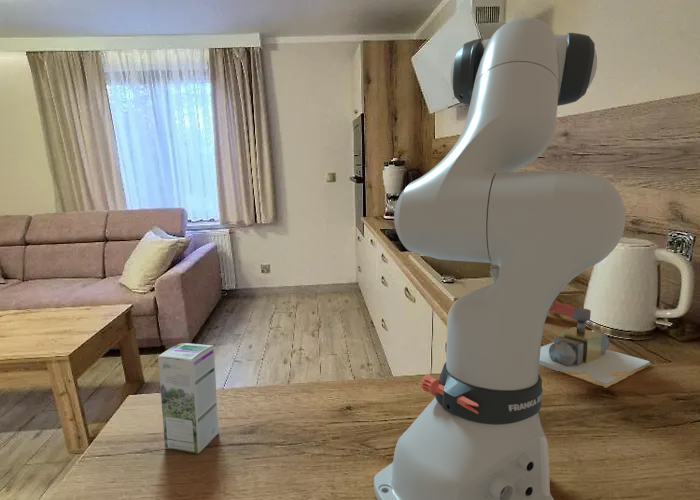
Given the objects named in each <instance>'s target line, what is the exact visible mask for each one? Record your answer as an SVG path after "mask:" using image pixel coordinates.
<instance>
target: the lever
mask: <svg viewBox="0 0 700 500" xmlns="http://www.w3.org/2000/svg"><path fill="white" fill-rule="evenodd" d="M552 304H553V307H552V308H550V309H549V312H554V313H558V314H561V315H564V316H567V317H570V318H572V319H574V320H576V321H577V320H580V321H586V322H588V321H591V313H592V311H591V310H590V309H588V308H583V307H576V306H573V305H569V304H565V303H562V302H559V301H556V300H554V302H553V303H552Z"/></svg>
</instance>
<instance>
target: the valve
mask: <svg viewBox="0 0 700 500" xmlns="http://www.w3.org/2000/svg"><path fill="white" fill-rule="evenodd" d="M586 322H587V321H580V320H576V326H573V327H570V328H567V329H563V330H561V331H559V336H556V337H554V339H553V340H554V341H553V343H554V344H552V345H551V346H550V348H549V356H550V358H551V360H552V361H553V362H556V363H559V364H562V365H565V366H570V365H576V366H578V365H581V364H582V362H583V363H589V362H591V361H593V360H596V359H598V358H600V356H602V355H604V354H605V351H606V350H607V349H608V350H609V346H610V339H609V337H608V335H607V334H606V333H605V332H603V331H602V330H599V329H591V330H589V329H586V324H587V323H586Z"/></svg>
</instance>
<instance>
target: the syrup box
mask: <svg viewBox="0 0 700 500" xmlns="http://www.w3.org/2000/svg"><path fill="white" fill-rule="evenodd" d="M215 357H216V356H215V347H214V345H213V344H212V345H211V344H200V343H187V342H181V343H178V344H176V345H174V346H171V347H170V348H168V349H167V350H165V351H164V352H162V353H161V354H159V355H157V361H158V362H157V363H158V372H159V385H160V386H159V387H160V388H159V389H160V399H161V410H162V423H163V435H164V436H163V439H164V448H165V450H170V451H171V450H172V451H178V452H183V453H184V452H186V453H190V454H197V455H198V454H199V453H201V452H202V451H203V450H204V449H205V448H206V447H207V446H208V445H209V444H210V443H211V442H212V441H213V440H214V438H216V437H217V435H218V434H219V433H220V432H219V431H220V429H219V419H218V418H219V416H218V400H217V382H216V381H217V380H216V379H217V378H216V362H215V361H216V359H215Z"/></svg>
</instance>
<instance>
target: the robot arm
mask: <svg viewBox="0 0 700 500" xmlns="http://www.w3.org/2000/svg"><path fill="white" fill-rule="evenodd" d="M597 66H598V57H597V52H596V49H595V42H594V40H593V39H592V38H591V37H590V36H589V35H587V34H584V33H576V32H567V34H559V33H558V34H556V33H554V31H553V29H552V28H551V27H550V26H549V24H547V23H546V22H545V21H542V20H541V19H538V18H534V17H529V16H528V17H527V16H524V17H519V18H515V19H512V20H510V21H507V22H506V23H505V24H502V25H501V26H500V27H498V28H497V30H495V32H494V33H493V34H492V35H491V37H490V38H487V39H482V38H477V39H473V40H470V41H467V42H464V44H462V45H461V46H460V48H459V49H458V50H457V51H456V54H455V57H454V60H453V62H452V65H451V68H450V85H451V88H452V89H451V90H452V92H453V96H454V98H456V100H457V101H458V102H459V103H460V104H463V105H467V106H469V107H468V111H467V114H466V119H465V121H464V125H463V129H462V132H461V133H460V135H459V137H458V139H457V140H456V142H455V144H454V145H453V147H452V148H451V149H450V151H449V152H448V153H447V154H446V155H445V156H444V157H443V158H442V159H441V160H440V161H439V162H438V163H437V164H436V165H434V167H433V168H432V169H430V170H429V171H427V172H426V173H425V174H423V175H422V176H420V177H419V178H417V179H415V180H413V181H411V182H410V183H408V184H407V186H405V188H404V189H403V190H402V191H401V193H400V194H399V197H398V198H397V201H396V204H395V207H394V214H393V221H394V228H395V232H396V234H397V236H398V239H399V241H400V243H401V244H402V245H403V247H405V249H406V250H407V251H410V252H411V253H412V252H413V253H415V254H419V255H423V256H426V257H429V258H432V259H433V258H434V259H437V260H442V261H457V262H470V263H472V262H473V263H484V264H485V263H487V264H492V265H490V267H489V273H490V275H491V277H492V278H491V279H492V282H493V283H492V284H490V285H489V284H488V285H487V286H484V287H481V288H478V289H475V290H473V291H472V290H471V292H469V293H465V294H464V295H462V296H460V297H459V298H458V299H456V301H454V302H453V304H452V305H451V307H450V308H449V310H448V313H447V316H446V317H447V318H446V319H447V321H446V358H445V360H446V361H445V362H444V364H443V365H442V370H441V373H440V375H439V378H438V379H435V378H434V376H432V375H431V374H425V375H424V376H423V377H422V378H421V380H420V384H419V385H420V389H421V390H423V391H424V392H426V393H430V395H432V396H435V397H434V398H433V399H432V400H431V402H430V403H429V404H428V405H427V406H426V407H425V408H424V409H423V410H422V412H421V413H420V414H419V415H418V416H417V418H416V419H415V420H414V421H413V422H412V423H411V424H410V425H409V427H408V428H407V429H406V430H405V431H404V432H403V434H401V436H400V437H399V438H398V439H397V441H396V444H395V445H396V446H395V448H394V453H393V460H392V462H391V463H390V464H388V465H387V466H386V467H384V468H383V469H381V470H380V471H379V472H377V473H376V474H375V476H374V477H373V492H374V495H375V497H376V499H377V500H555V499H554V497H553V496H552V494H551V488H550V487H551V485H550V464H549V463H550V461H549V460H550V459H549V457H550V456H549V443H548V440H547V436H546V434H545V432H544V428H543V426H542V423H541V419H540V416H539V412H540V411H541V408H542V400H543V395H544V391H543V390H544V389H543V379H542V376H541V375H540V373H539V371H540V370H539V369H540V365H539V359H540V349H541V347H542V341H543V335H544V334H543V333H544V328H545V323H546V319H547V317H548V314H549V312H550V311H549V309H550V308H552V307H553V304H552V303H553V302H554V301H556V298H557V297H558V295H560V293H561V292H562V290H563V289H564V288H566V286H567V285H568V284H570V282H571V281H572V280H574V279H575V278H576V277H577V276H579V275H580V274H582V273H584V271H586V270H588V269H590V268H591V267H594V266H595V265H597V264H599V263H600V262H602V261H603V260H604V259H606V258H607V257H608V256H609V255H610V254H611V253H612V252H613V251H614V250H615V249H616V247H617V246H618V244H619V243H620V241H621V239H622V236H623V233H624V230H625V226H626V220H627V219H626V207H625V203H624V200H623V199H622V196H621V195H620V193H619V191H618V190H617V188H616V187H615V185H614V184H613V183H612V182H611V181H610V180H608V179H607V178H606V177H605V176H603V175H602V176H601V175H595V174H589V173H583V172H575V171H567V170H557V169H556V170H555V169H554V170H533V171H532V170H531V171H517V170H519V169H521V168H523V167H525V166H527V165H529V164H531V163H532V162H534V161H536V160H537V159H538V158H540V156H541V155H542V154H544V152H545V151H546V150H547V149H548V147H549V146H550V144H551V143H552V141H553V139H554V136H555V133H556V126H557V115H558V106H564V105H568V104H571V103H575V102H577V101H579V100H580V99H581V98H583V96H585V95H586V93H587V91H588V89H589V88H590V86H591V84H593V83H592V82H593V80H594V79H595V76H596V72H597V68H598V67H597Z"/></svg>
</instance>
